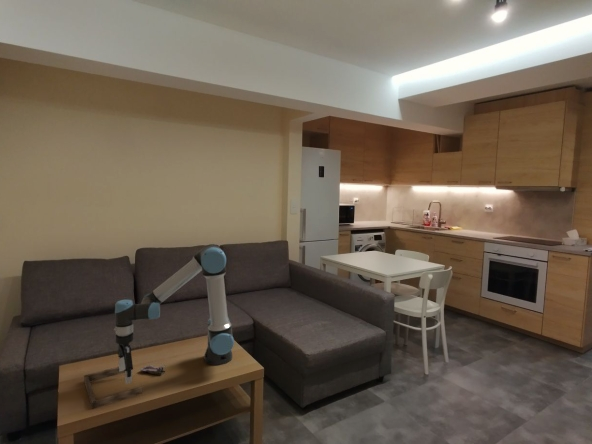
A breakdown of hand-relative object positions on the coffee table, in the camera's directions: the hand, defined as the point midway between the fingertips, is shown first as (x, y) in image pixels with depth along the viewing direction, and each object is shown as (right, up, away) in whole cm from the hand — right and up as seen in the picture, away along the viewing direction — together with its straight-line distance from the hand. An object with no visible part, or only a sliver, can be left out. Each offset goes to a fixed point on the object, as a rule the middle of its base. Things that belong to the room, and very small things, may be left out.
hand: (125, 376), depth 167 cm
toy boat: (+12, -5, +9) cm, 16 cm away
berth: (-4, -4, -3) cm, 6 cm away
